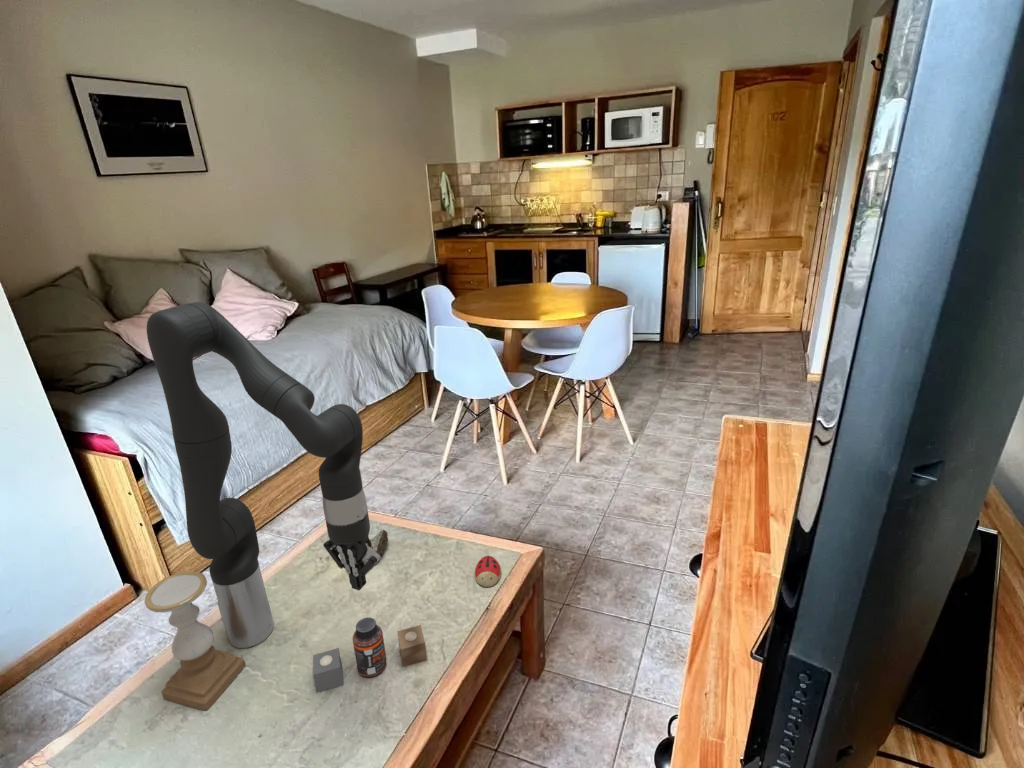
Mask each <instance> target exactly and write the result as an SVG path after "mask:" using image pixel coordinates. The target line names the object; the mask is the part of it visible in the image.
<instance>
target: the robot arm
mask: <svg viewBox="0 0 1024 768" xmlns="http://www.w3.org/2000/svg"><path fill="white" fill-rule="evenodd" d="M146 336H147V338H146V339H147V342H148V347H149V349H150V352H151V356H152V358H153V362H154V364H155V368H156V370H157V375H158V376H159V379H160V384H161V385H162V390H163V394H164V398H165V402H166V406H167V410H168V414H169V419H170V424H171V429H172V438H173V442H174V443H173V444H174V448H175V452H176V456H177V459H178V463H179V469H180V475H181V481H182V486H183V491H184V492H183V493H184V501H185V516H186V517H185V521H186V530H187V535H188V539H189V542H190V544H191V546H192V547H193V549H194V551H195V552H196V553H197V554H198V555H199V556H200V557H202V558H204V559H207V560H211V563H210V565H209V575H210V578H211V582H212V585H213V589H214V592H215V596H216V598H217V607H218V611H219V614H220V617H221V620H222V624H223V628H224V630H225V634H226V636H227V637H228V641H229V642H230V644H231V646H232V647H235V648H237V649H247V648H251V646H252V647H254V646H257V645H259V644H261V643H262V642H263V641H265V640H266V639H268V637H269V636H270V635H271V634H272V632H273V630H274V628H275V626H274V625H275V624H274V619H273V616H272V610H271V606H270V603H269V602H270V601H269V598H268V595H267V591H266V587H265V582H264V579H263V575H262V571H261V567H260V564H259V563H260V562H259V560H258V559H259V555H260V546H259V540H258V534H257V529H256V528H257V527H256V523H255V520H254V516H253V514H252V511H251V509H249V508H248V506H247V504H245V503H244V502H243V501H242V500H240V499H238V498H236V497H226V498H223V499H221V493H222V490H223V489H222V488H223V485H224V483H225V479H226V476H227V473H228V469H229V465H230V464H231V463H230V462H231V458H232V453H233V451H232V449H233V448H232V446H233V445H232V440H231V432H230V425H229V421H228V418H227V417H226V414H225V413H224V412H223V411H222V410H221V408H220V407H219V406H218V405H217V404H216V403H215V402H214V401H212V399H210V397H208V396H207V395H206V393H204V392H203V391H202V389H201V388H200V386H199V384H198V382H197V378H196V374H195V370H194V362H193V361H194V358H197V357H200V356H203V355H206V354H207V353H210V352H212V353H214V354H215V353H216V354H217V355H220V357H223V358H224V359H226V360H228V361H229V362H230V364H232V365H233V367H234V369H235V370H236V372H237V373H238V376H239V379H240V381H241V383H242V386H243V389H244V390H245V392H246V393H247V394H248V396H249V397H250V398H251V399H252V400H253V401H254V402H255V403H256V405H259V406H260V407H261V408H263V409H264V410H266V411H267V412H269V413H270V414H272V415H273V416H274V417H276V418H277V419H278V420H280V421H281V422H282V424H283V425H285V426H284V427H286V428H287V430H288V431H289V432H290V434H292V436H293V437H294V438H295V439H296V440H297V442H298V443H299V444H300V446H301V447H302V448H303V449H304V450H305V451H306V452H307V453H309V454H310V455H313V456H314V457H319V458H324V460H323V461H322V463H321V464H320V466H319V468H318V479H319V485H320V490H321V495H322V497H321V498H322V509H323V510H322V511H323V513H324V520H325V525H326V530H327V535H328V538H329V539H328V540H326V541H325V542H324V543H323V544H322V545H323V548H324V549H325V550H326V552H327V553H328V554H329V556H330V557H331V558H332V560H333V561H334V563H335V564H336V565H337V567H338V568H339V569H341V570H342V569H343V568H344V570H345V572H346V574H348V579H349V584H350V586H351V589H354V590H355V591H361V590H362V589H363V588H364V586H365V585H366V584H367V579H366V578H367V577H366V576H367V574H368V573H369V572H370V571H371V570H373V568H374V567H375V566H376V565H377V563H379V561H380V560H381V559H382V558H383V556H384V553H383V552H381V551H378V552H377V553H376V552H375V551H374V550H373V549H372V548H371V547H372V543H371V541H370V536H369V533H370V530H371V522H370V517H369V516H370V515H369V510H368V503H367V497H366V494H365V491H364V487H363V480H362V474H361V468H360V463H361V458H362V449H363V440H364V439H363V437H364V435H363V434H364V431H363V424H362V420H361V418H360V416H359V414H358V413H357V411H356V410H355V409H354V408H353V407H351V406H350V405H347V404H345V403H338V404H335V405H332V406H330V407H329V408H327V409H326V410H324V411H322V412H320V413H319V414H317V415H316V414H315V413H313V412H312V411H311V410H312V409H313V406H314V404H315V399H316V398H315V395H314V393H313V391H312V390H311V389H309V388H308V387H307V386H306V385H304V384H303V383H301V382H300V381H298V380H297V379H296V378H294V377H292V376H291V375H289V374H288V373H287V372H286V371H284V370H283V369H281V368H279V367H278V366H277V365H276V364H274V363H273V362H272V361H271V360H269V359H268V358H267V357H266V356H265V354H264V355H263V353H262V352H261V351H260V350H259V349H258V348H257V347H256V346H255V345H253V344H252V342H250V341H249V340H248V338H246V336H244V334H243V333H242V332H241V331H239V330H238V329H237V327H235V326H234V325H233V324H232V323H231V322H230V321H229V320H228V319H227V318H226V317H225V316H224V315H223V314H221V312H220V311H218V310H217V309H216V308H214V307H213V306H211V305H209V304H207V303H205V302H201V301H196V302H189V303H184V304H180V305H176V306H172V307H169V308H164V309H161V310H158V311H155V312H153V313H152V314H151V315H150V316H149V317H148V319H147V321H146ZM366 558H367V560H366Z"/></svg>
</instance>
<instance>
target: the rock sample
mask: <svg viewBox="0 0 1024 768" xmlns="http://www.w3.org/2000/svg"><path fill="white" fill-rule="evenodd" d="M388 535H389V533H388V532H387V530H385V529H383V528H382V529H381V530H380V531H379V533H377V534H376V535H375V536H374V537H372V538H371V539H370V538H369V539H370V541H371V543H372V547H371V548H372V549H373V550H374V551H375V552H376V553H377V552H378V551H381V552H382V551H383V550H384V548H386V547H387V545H388V542H389V536H388ZM382 553H383V552H382ZM366 560H367V558H366Z"/></svg>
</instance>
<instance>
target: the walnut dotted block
mask: <svg viewBox="0 0 1024 768" xmlns="http://www.w3.org/2000/svg"><path fill="white" fill-rule="evenodd" d="M396 633H397V638H398V639H397V640H398V645H399V652H400V658H401V662H402V668H405V667H409V666H412V665H415V664H419V663H423V662H425V661H428V657H427V648H426V640H425V637H424V632H423V629H422V625H421V624H419V625H416V626H412V627H408V628H404V629H401V630H397V632H396Z"/></svg>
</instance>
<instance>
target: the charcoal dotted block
mask: <svg viewBox="0 0 1024 768" xmlns="http://www.w3.org/2000/svg"><path fill="white" fill-rule="evenodd" d="M339 648H340V647H336V648H333V649H330V650H326V651H322V652H319V653H315V654H312V676H313V680H314V684H315V689H316V693H317V694H319V693H318V692H320V693H323V692H325V691H326V692H327V691H329V690H332V689H336V688H339V686H340V687H343V686H344V676H343V675H344V674H343V673H344V672H343V664H342V663H343V661H342V658H341V653H340V649H339ZM342 685H343V686H342ZM322 691H323V692H322Z"/></svg>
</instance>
